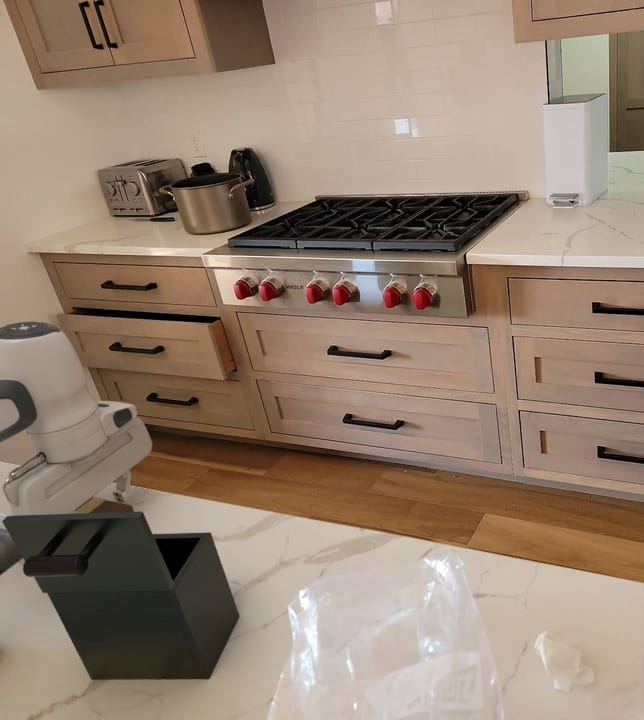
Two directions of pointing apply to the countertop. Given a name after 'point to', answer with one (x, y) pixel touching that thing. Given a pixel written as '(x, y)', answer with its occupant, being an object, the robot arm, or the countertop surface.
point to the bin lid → (90, 552)
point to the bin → (156, 618)
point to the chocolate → (103, 506)
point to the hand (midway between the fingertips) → (104, 515)
